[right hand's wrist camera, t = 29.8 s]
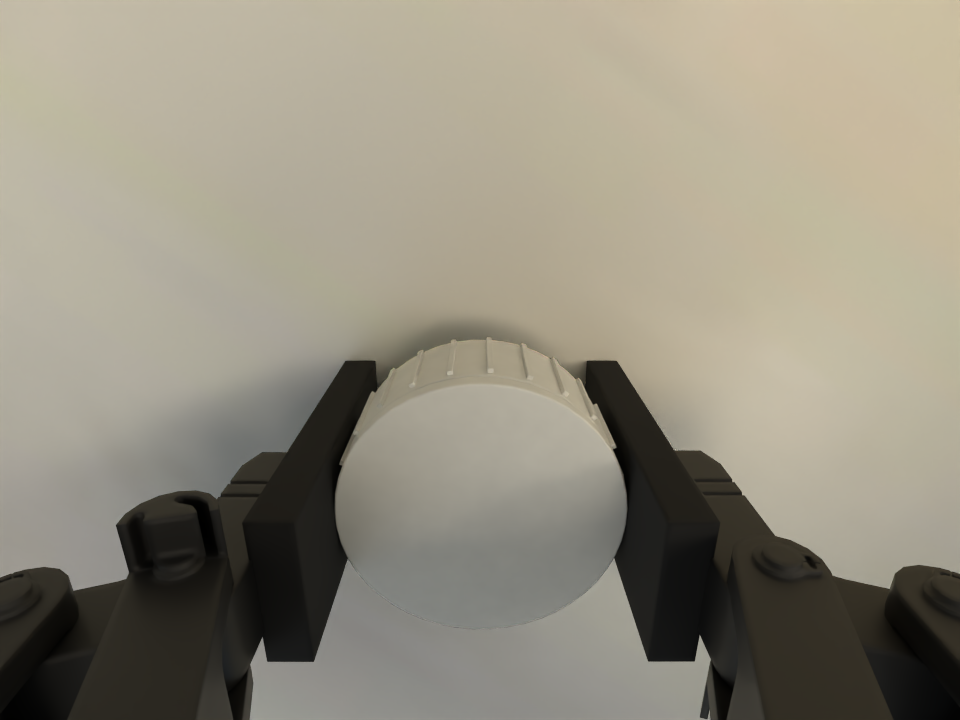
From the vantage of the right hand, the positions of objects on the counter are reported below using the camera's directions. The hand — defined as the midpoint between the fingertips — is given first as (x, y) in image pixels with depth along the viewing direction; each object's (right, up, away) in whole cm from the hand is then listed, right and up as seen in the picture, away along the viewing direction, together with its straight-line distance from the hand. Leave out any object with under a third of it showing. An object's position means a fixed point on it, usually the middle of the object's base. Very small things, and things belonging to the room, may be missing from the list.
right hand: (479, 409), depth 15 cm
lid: (0, -1, -4) cm, 4 cm away
